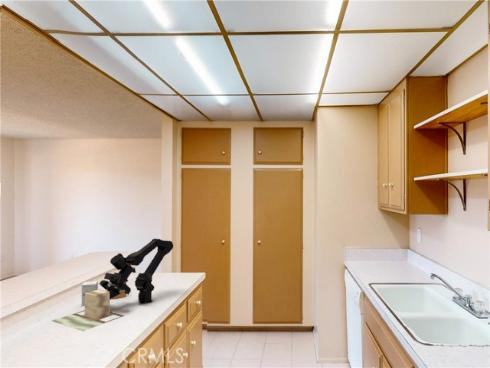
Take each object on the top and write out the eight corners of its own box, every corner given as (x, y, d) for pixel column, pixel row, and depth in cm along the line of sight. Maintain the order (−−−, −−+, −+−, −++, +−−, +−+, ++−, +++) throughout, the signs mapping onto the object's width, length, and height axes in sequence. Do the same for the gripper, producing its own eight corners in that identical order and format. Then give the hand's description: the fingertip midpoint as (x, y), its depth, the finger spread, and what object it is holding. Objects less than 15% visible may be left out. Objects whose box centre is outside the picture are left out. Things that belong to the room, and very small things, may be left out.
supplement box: (81, 308, 183) (81, 284, 183) (83, 304, 190) (83, 281, 190) (96, 307, 185) (96, 283, 185) (98, 303, 192) (98, 280, 192)
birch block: (99, 311, 173) (99, 289, 174) (109, 314, 169) (109, 291, 169) (84, 316, 166) (84, 293, 167) (95, 319, 162) (94, 295, 163)
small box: (112, 299, 199) (112, 276, 199) (109, 296, 204) (109, 274, 205) (126, 297, 203) (126, 274, 204) (123, 294, 209) (123, 272, 209)
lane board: (93, 310, 180) (93, 307, 180) (125, 318, 167) (125, 315, 167) (51, 324, 161) (51, 320, 161) (83, 334, 148) (83, 331, 148)
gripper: (102, 264, 182) (83, 290, 172) (126, 267, 172) (107, 295, 162) (115, 276, 188) (97, 302, 178) (138, 280, 178) (120, 308, 168)
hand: (104, 301), depth 171 cm, fingers closed
